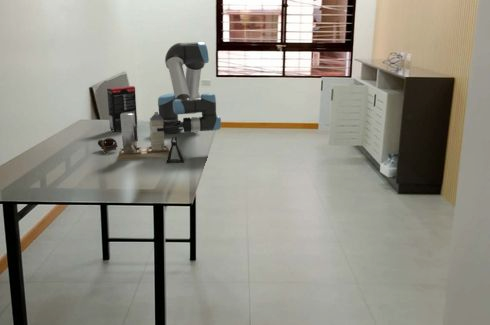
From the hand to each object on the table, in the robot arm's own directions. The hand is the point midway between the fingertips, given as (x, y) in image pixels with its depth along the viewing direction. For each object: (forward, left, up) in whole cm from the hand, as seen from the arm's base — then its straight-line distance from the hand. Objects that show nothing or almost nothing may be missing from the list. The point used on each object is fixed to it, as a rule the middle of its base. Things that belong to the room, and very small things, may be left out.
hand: (149, 127), depth 269 cm
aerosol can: (0, +3, -13) cm, 13 cm away
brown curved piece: (-16, -23, -15) cm, 32 cm away
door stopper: (+15, +11, -15) cm, 24 cm away
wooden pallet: (0, -4, -15) cm, 15 cm away
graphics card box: (-72, -16, -15) cm, 75 cm away
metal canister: (0, -11, -12) cm, 16 cm away
